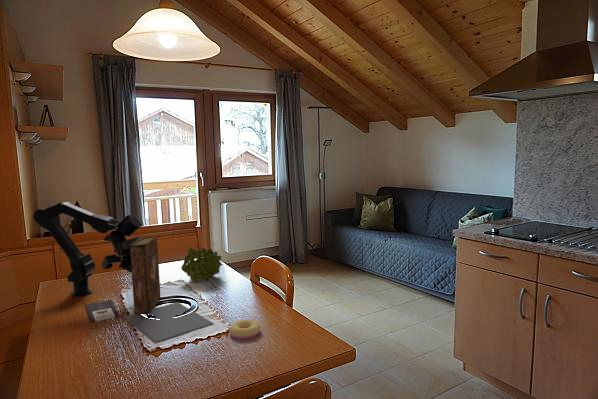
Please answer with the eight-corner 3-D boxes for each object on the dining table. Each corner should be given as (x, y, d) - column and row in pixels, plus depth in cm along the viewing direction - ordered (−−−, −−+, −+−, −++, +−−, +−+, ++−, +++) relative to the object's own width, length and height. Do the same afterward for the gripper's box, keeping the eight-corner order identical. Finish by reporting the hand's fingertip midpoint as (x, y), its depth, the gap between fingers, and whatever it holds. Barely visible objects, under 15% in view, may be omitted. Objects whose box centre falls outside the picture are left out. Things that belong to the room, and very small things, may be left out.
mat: (124, 317, 144) (124, 316, 144) (177, 303, 158) (177, 302, 158) (155, 343, 125) (155, 341, 125) (213, 324, 139) (213, 322, 139)
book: (149, 314, 146) (144, 244, 144) (133, 314, 146) (128, 245, 143) (160, 298, 162) (156, 236, 160) (146, 299, 162) (142, 236, 159)
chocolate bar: (111, 299, 160) (119, 315, 145) (111, 302, 160) (119, 317, 145) (85, 304, 155) (90, 321, 140) (85, 306, 156) (90, 323, 141)
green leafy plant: (200, 261, 199) (222, 241, 194) (210, 289, 191) (234, 269, 186) (171, 257, 184) (194, 235, 179) (181, 286, 176) (205, 265, 171)
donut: (227, 337, 134) (236, 345, 126) (224, 324, 134) (233, 331, 125) (255, 326, 138) (266, 333, 130) (252, 313, 138) (263, 319, 130)
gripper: (103, 235, 152) (120, 269, 147) (148, 227, 167) (166, 257, 161) (94, 252, 158) (110, 286, 153) (139, 243, 173) (155, 273, 167)
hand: (137, 275), depth 158 cm, fingers closed
